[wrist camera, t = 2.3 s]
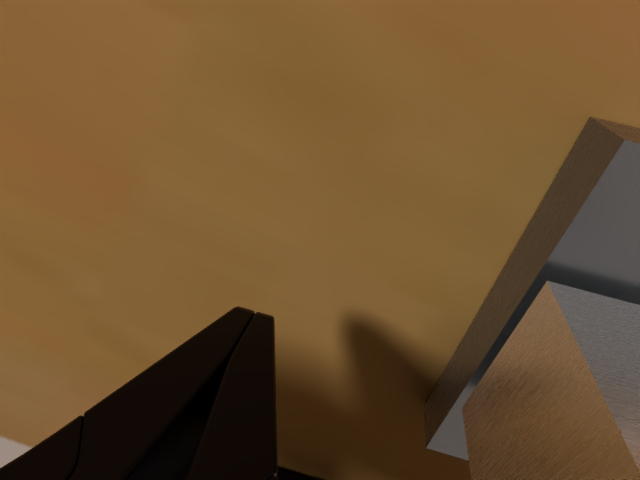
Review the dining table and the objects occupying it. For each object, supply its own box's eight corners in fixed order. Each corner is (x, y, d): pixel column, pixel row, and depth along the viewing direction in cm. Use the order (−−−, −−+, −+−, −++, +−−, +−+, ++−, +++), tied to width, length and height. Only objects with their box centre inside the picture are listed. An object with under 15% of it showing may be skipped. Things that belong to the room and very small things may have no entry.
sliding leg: (577, 441, 10) (667, 680, 6) (462, 407, 10) (488, 622, 7) (701, 321, 8) (954, 603, 4) (547, 280, 8) (661, 515, 4)
